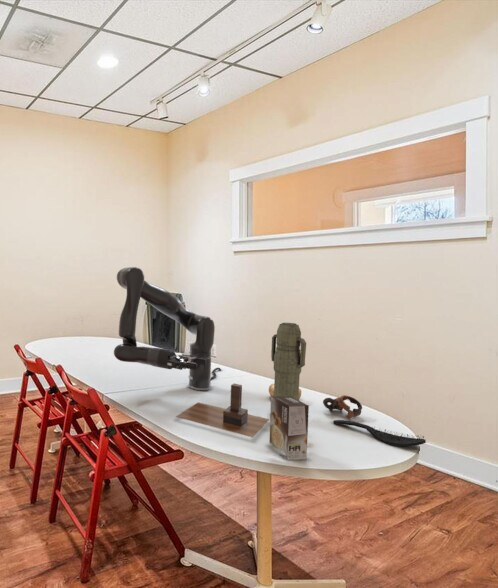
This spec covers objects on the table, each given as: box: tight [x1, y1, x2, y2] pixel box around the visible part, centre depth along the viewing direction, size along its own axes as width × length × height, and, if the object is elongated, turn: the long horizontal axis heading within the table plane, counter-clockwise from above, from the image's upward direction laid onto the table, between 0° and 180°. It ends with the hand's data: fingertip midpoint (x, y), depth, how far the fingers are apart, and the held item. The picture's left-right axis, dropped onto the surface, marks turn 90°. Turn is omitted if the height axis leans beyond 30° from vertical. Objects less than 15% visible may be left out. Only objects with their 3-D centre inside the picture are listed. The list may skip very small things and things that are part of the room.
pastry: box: [268, 383, 302, 400], centre depth 167 cm, size 12×12×9 cm
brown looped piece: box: [322, 394, 363, 420], centre depth 150 cm, size 12×10×8 cm
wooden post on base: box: [223, 383, 249, 426], centre depth 139 cm, size 7×6×13 cm
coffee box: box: [269, 396, 310, 461], centre depth 119 cm, size 9×6×16 cm
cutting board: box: [175, 402, 270, 438], centre depth 143 cm, size 20×26×2 cm
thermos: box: [270, 322, 307, 401], centre depth 146 cm, size 9×12×35 cm
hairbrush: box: [333, 419, 427, 447], centre depth 132 cm, size 8×4×25 cm
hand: (201, 364), depth 147 cm, fingers open, 8 cm apart
